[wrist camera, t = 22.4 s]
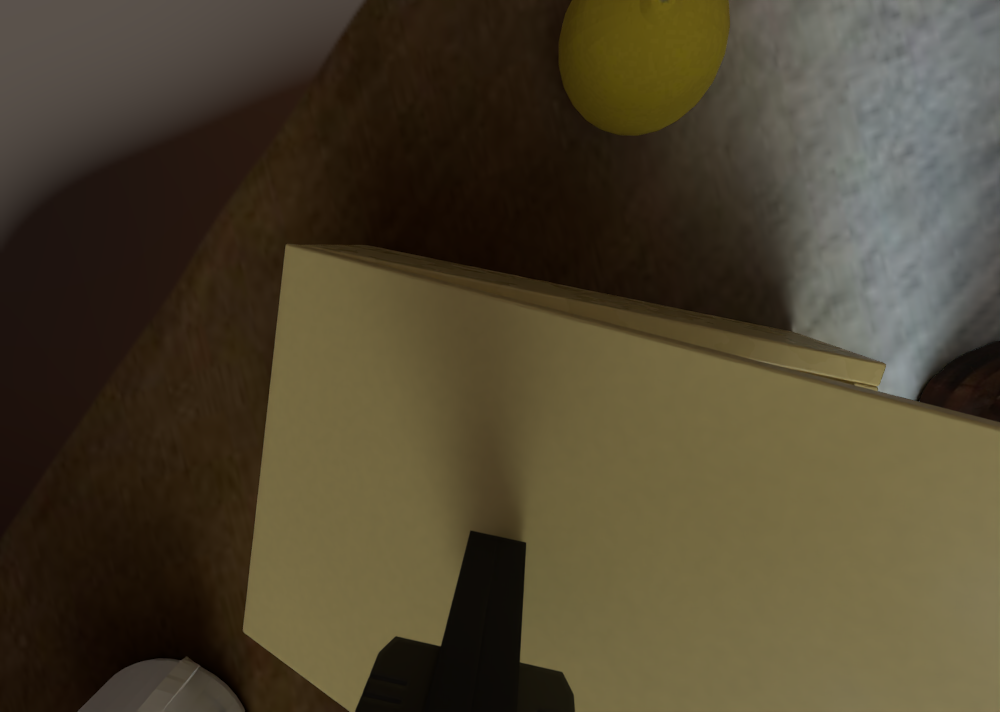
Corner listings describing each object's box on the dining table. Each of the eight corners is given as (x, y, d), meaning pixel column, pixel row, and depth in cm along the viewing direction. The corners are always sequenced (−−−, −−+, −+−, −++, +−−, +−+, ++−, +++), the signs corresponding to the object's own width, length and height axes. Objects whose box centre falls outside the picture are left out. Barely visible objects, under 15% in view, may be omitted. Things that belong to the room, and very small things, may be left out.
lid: (1148, 459, 9) (1177, 472, 9) (863, 1055, 12) (867, 1101, 12) (304, 244, 18) (284, 242, 17) (259, 620, 21) (241, 632, 20)
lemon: (573, 168, 24) (589, 129, 16) (541, 33, 23) (541, -80, 15) (702, 130, 23) (786, 69, 15) (675, -11, 22) (748, -153, 14)
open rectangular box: (793, 331, 24) (888, 364, 18) (704, 614, 27) (756, 733, 21) (365, 244, 25) (300, 243, 18) (324, 529, 28) (256, 618, 21)
